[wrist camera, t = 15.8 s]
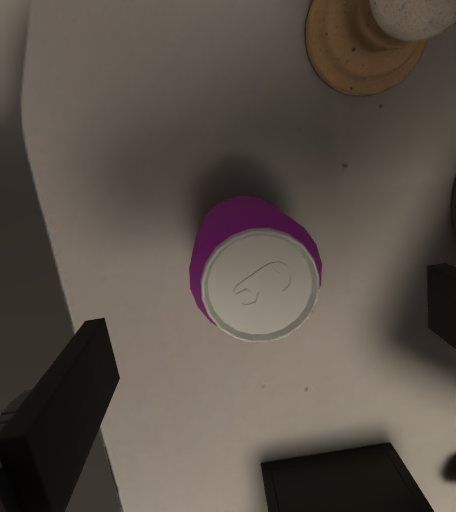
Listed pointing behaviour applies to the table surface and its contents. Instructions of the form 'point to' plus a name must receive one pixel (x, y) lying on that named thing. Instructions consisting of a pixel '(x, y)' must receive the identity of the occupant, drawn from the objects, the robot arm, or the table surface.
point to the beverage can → (254, 270)
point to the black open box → (343, 483)
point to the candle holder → (372, 40)
